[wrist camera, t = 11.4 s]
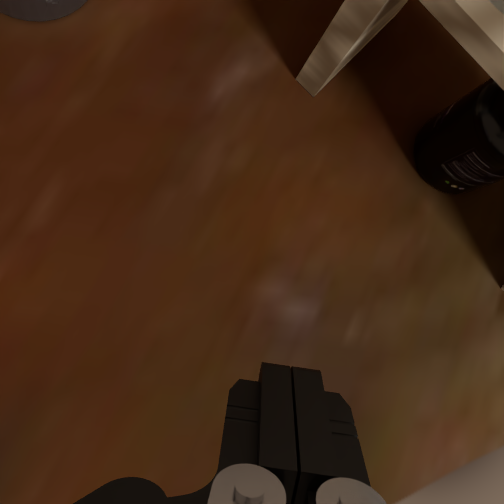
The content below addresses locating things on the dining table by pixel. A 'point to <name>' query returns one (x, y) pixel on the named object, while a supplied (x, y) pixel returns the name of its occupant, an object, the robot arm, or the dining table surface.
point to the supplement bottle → (464, 142)
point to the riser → (385, 9)
